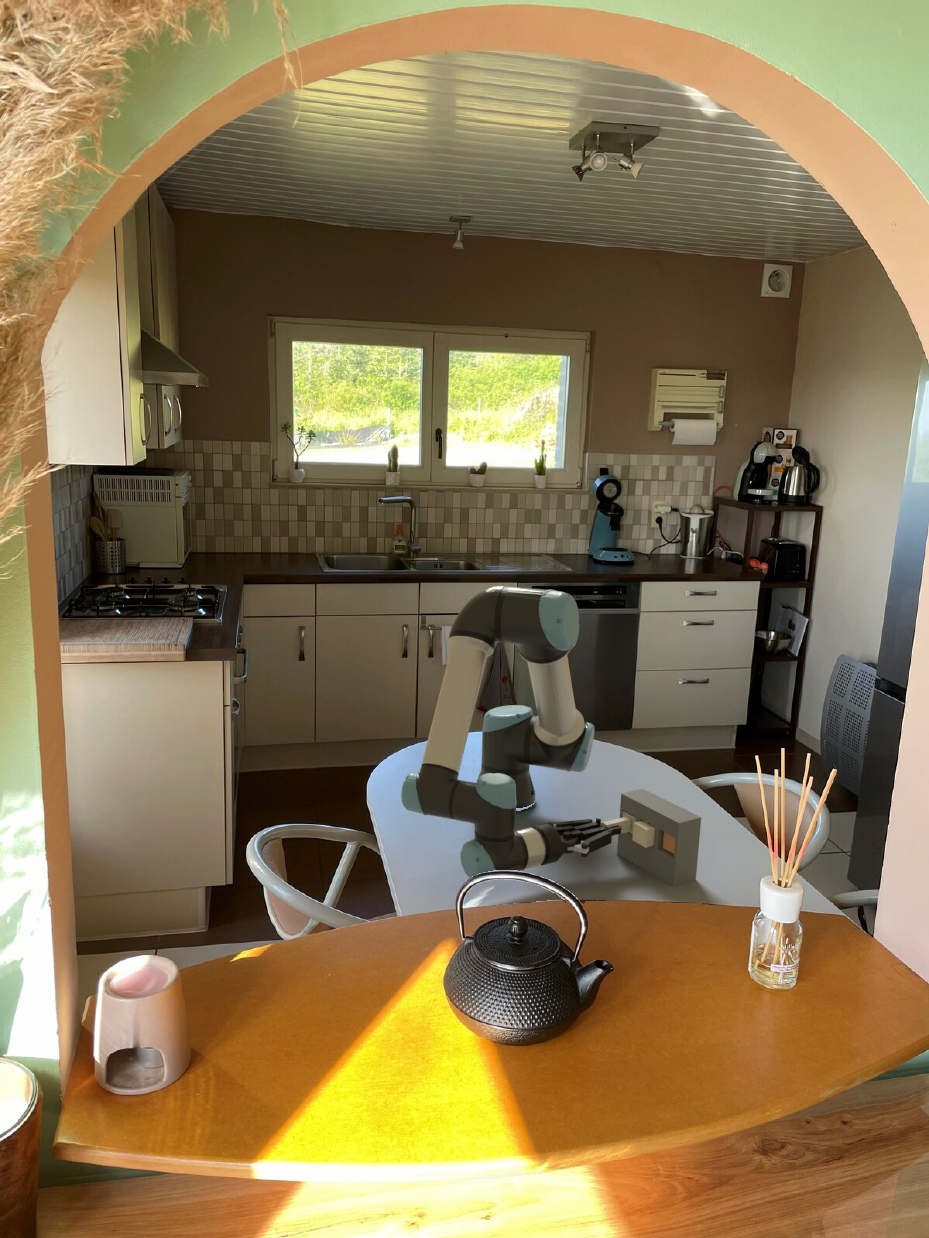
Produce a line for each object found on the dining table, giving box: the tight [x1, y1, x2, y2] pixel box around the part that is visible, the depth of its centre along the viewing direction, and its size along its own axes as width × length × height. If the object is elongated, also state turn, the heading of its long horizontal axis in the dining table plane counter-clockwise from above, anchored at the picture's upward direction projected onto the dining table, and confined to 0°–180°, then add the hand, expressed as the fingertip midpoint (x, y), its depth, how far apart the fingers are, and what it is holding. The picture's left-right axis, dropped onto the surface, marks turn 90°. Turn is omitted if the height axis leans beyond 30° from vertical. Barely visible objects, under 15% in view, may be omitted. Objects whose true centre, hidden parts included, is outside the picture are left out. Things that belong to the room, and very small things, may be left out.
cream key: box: [632, 820, 656, 848], centre depth 189 cm, size 4×4×4 cm
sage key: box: [622, 811, 637, 834], centre depth 194 cm, size 4×4×4 cm
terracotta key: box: [663, 832, 675, 854], centre depth 186 cm, size 4×4×4 cm
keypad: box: [616, 788, 702, 887], centre depth 191 cm, size 17×6×14 cm, turn 31°
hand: (628, 823), depth 193 cm, fingers closed
